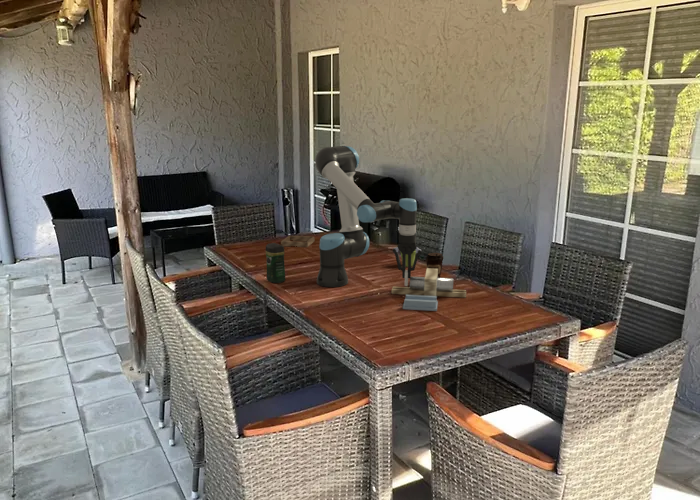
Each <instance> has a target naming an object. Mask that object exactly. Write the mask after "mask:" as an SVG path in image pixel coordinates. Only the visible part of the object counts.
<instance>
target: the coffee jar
mask: <svg viewBox="0 0 700 500" xmlns="http://www.w3.org/2000/svg"><path fill="white" fill-rule="evenodd" d="M265 256H266V257H265V258H266V280H267V281H268V282H270V283H273V284H275V283H276V284H277V283H278V284H280V283H283V282H285V281H286V267H285V246H282V245H281V244H279V243H275V242H270V243H267V244H266V246H265Z"/></svg>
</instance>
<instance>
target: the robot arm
mask: <svg viewBox="0 0 700 500" xmlns="http://www.w3.org/2000/svg"><path fill="white" fill-rule="evenodd" d="M359 163H360V155H359V154H358V151H357V150H356V149H355V148H354V147H353V146H349V145H341V146H339V145H338V146H326V147H323V148H321V149H320V150H318V152H317V153H316V154H315V158H314V164H315V168H316V170H317V172H318V173H319V175H321V177H322V178H324V179H327V180H328V181H330V183H331V184H332V186H334V187H335V189H336V193H337V201H338V207H339V215H340V224H341V227H340V230H339V232H333V233H326V234H324V235H322V236H321V237H320V239H319V244H318V246H319V270H318V273H317V277H316V284H317V285H318V286H320V287H323V288H324V287H325V288H337V287H338V288H339V287H344V286H346V285H348V284H349V277H348V273H347V270H346V268H345V260H347V259H351V258H354V257H360V256H363V255H365V254H367V251H368V250H369V248H370V238H369V235H368V234H367V233H366V232H365V231H364V228H363V227H362V226H360V222H361V223H373V222H377V221H382V220H388V219H395V220H398V244H397V246H396V247H393V249H392V252H393V253H394V256H395V260H396V265H397V269H398V270H399V271H401V273H402V274H401V276H402V279H404V287H408V285H409V279H410V277H412V276H411V275H412V272H413V271H415V269H416V266H417V263H418V258H419V256H420V254H421V253H422V249H421V248H419V247H418V245H417V240H416V239H417V234H416V233H417V210H418V208H417V204H418V203H417V200H416V199H415V198H408V197H406V198H400V199H399V201H393V200H384V199H383V200H381V201H380V202H376V203H374V202H373V201H372V200H371V199H370V197H369V196H367V194H366V193H364V191H363V190H362V189H361V188H360V187H358V185H357V184H356V183H355V182H354V176H355V174H356V169H357V168H358V166H359ZM399 250H400V251H399ZM415 250H416V254H415V260H414V263H413V266H411V254H412V253H413V252H414V251H415ZM399 252H401V253H402V258H400V254H401V253H400V254H399ZM406 254H408V267H407V269H406Z"/></svg>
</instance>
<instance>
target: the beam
mask: <svg viewBox="0 0 700 500" xmlns="http://www.w3.org/2000/svg"><path fill="white" fill-rule="evenodd" d="M424 277H425V281H424V290H410V286H409V287H408V286H392V288H391V294H393V295H406V294H407V295H426V296H437V297H448V298H449V297H450V298H467V290H466V289H453V292H446V291H436V285H437V278H438V269H434V268H427V267H426V270H425V276H424Z"/></svg>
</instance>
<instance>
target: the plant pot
mask: <svg viewBox="0 0 700 500" xmlns="http://www.w3.org/2000/svg"><path fill="white" fill-rule="evenodd" d="M398 252H400V250H399V249H398ZM400 256H401V258H400V259H402V253H401V252H400ZM415 256H416V250H415V251H414V252H413V253H412V254H411V267H413V263H414V260H415ZM406 267H407V268H408V254H406Z"/></svg>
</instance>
